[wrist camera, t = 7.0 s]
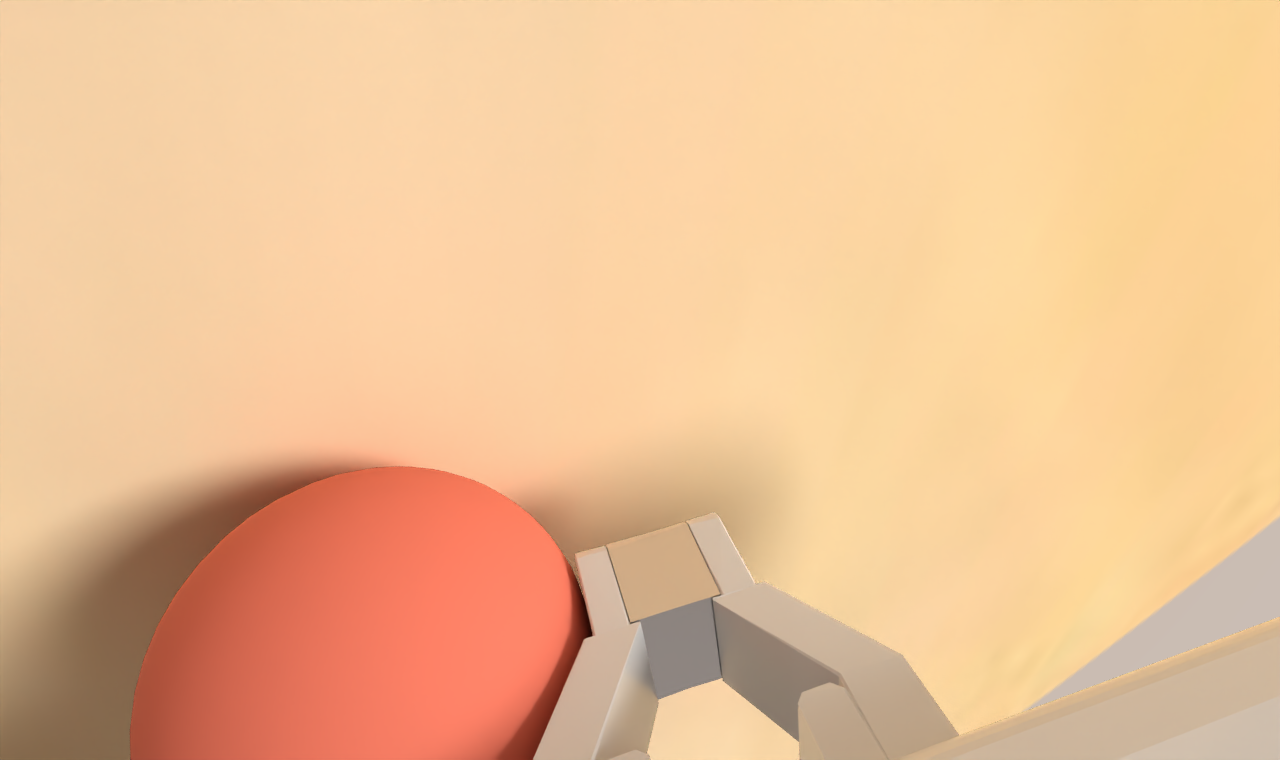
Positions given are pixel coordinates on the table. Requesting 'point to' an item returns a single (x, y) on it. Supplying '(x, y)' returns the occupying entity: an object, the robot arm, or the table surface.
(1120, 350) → the table surface
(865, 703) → the robot arm
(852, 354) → the table surface
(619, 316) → the table surface
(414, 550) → the ball
